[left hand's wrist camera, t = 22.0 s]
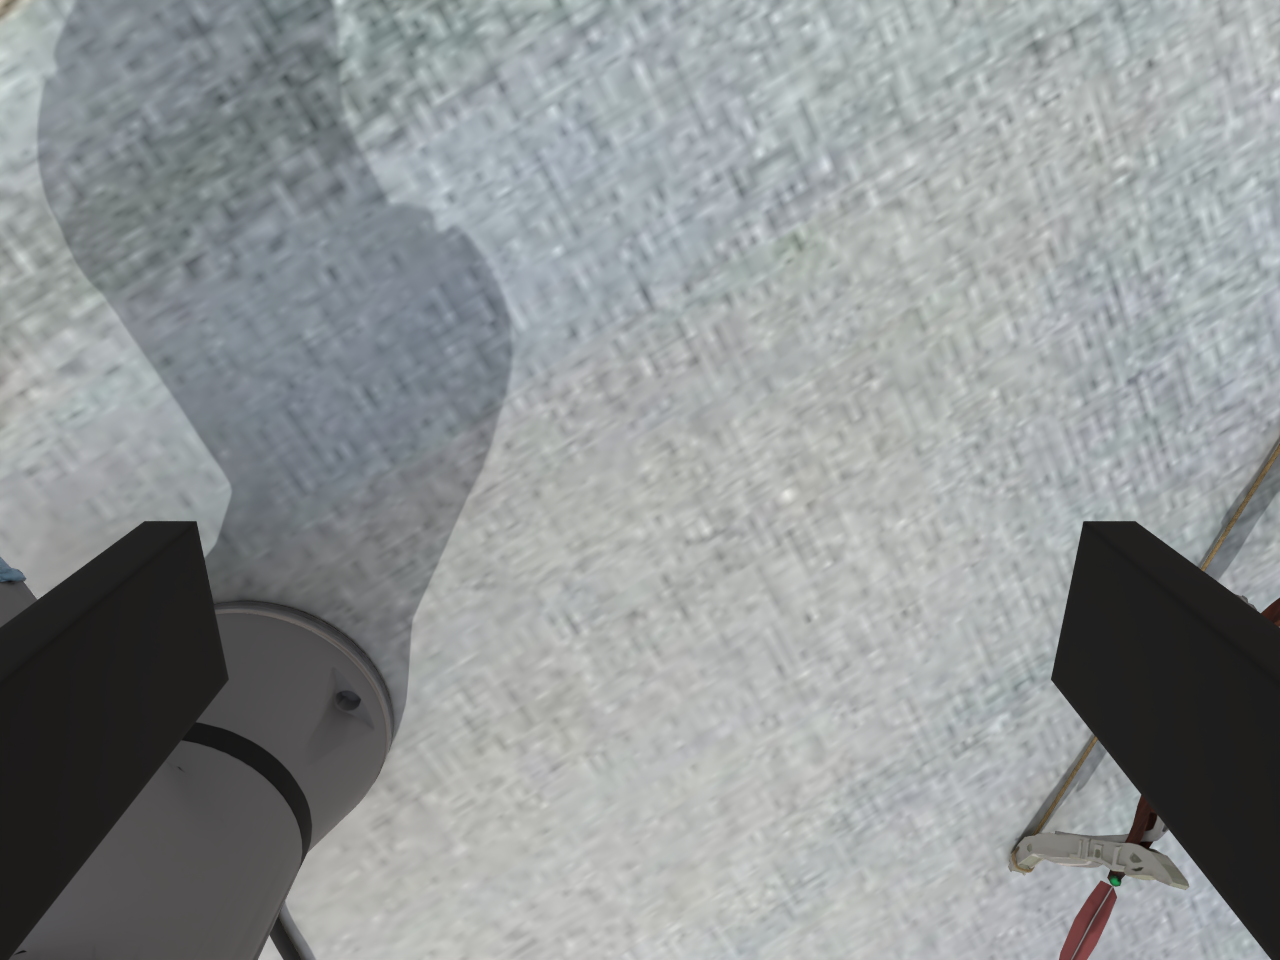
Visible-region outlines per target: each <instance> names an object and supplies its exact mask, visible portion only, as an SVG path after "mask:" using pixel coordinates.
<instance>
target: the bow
mask: <svg viewBox="0 0 1280 960" xmlns="http://www.w3.org/2000/svg"><path fill="white" fill-rule="evenodd" d="M1279 452H1280V444H1279V446H1278V447H1277V449H1276V450H1275V452H1274V454H1273V455H1272V457H1271V458H1270V460H1269V461H1268V463H1267V465H1266V466H1265V468H1264V469H1263V471H1262V473H1261V474H1260V476H1259V477H1258V479H1257V480H1256V482H1255V484H1254V485H1253V487H1252V488H1251V490H1250V492H1249V493H1248V495H1247V496H1246V498H1245V499H1244V501H1243V503H1242V504H1241V506H1240V507H1239V509H1238V511H1237V512H1236V514H1235V515H1234V517H1233V518H1232V520H1231V522H1230V523H1229V525H1228V526H1227V528H1226V530H1225V531H1224V533H1223V534H1222V536H1221V537H1220V539H1219V541H1218V542H1217V544H1216V545H1215V547H1214V549H1213V550H1212V552H1211V553H1210V555H1209V556H1208V558H1207V560H1206V561H1205V563H1204V564H1203V566H1202V568H1201V570H1202V571H1205V569H1206V568H1207V566H1208V564H1209V563H1210V561H1211V560H1212V558H1213V557H1214V555H1215V553H1216V552H1217V550H1218V549H1219V547H1220V546H1221V544H1222V542H1223V541H1224V539H1225V538H1226V536H1227V535H1228V533H1229V531H1230V530H1231V528H1232V527H1233V525H1234V523H1235V522H1236V520H1237V519H1238V517H1239V516H1240V514H1241V512H1242V511H1243V509H1244V508H1245V506H1246V505H1247V503H1248V501H1249V500H1250V498H1251V497H1252V495H1253V493H1254V492H1255V490H1256V489H1257V487H1258V486H1259V484H1260V482H1261V481H1262V479H1263V478H1264V476H1265V475H1266V473H1267V471H1268V470H1269V468H1270V467H1271V465H1272V464H1273V462H1274V460H1275V459H1276V457H1277V456H1278V454H1279ZM1235 595H1236V594H1235ZM1236 596H1238V597H1239V598H1240V599H1242V600H1243V601H1244V602H1246V603H1247V604H1248V605H1250V606H1251V607H1252V608H1254V609H1255V610H1257V609H1256V608H1255V607H1254V605H1252V604H1249V603H1248V599H1247V598H1246V597H1245V596H1243V595H1242V596H1239V595H1236ZM1261 614H1262V615H1263V616H1265V617H1266V618H1267V619H1269V620H1270V621H1271V622H1273V623H1274V624H1276V625H1277V626H1278V627H1280V598H1279V599H1277V600H1276V601H1275V602H1273V603H1272V604H1271V605H1270V606H1269V607H1267V608H1266V609H1265V610H1264V611H1263V612H1262V613H1261ZM1097 740H1098V739H1097V737H1096V736H1095V737H1094V739H1093V740H1092V742H1091V743H1090V745H1089V747H1088V748H1087V750H1086V751H1085V753H1084V755H1083V756H1082V758H1081V759H1080V761H1079V762H1078V764H1077V766H1076V767H1075V769H1074V770H1073V772H1072V774H1071V775H1070V777H1069V778H1068V780H1067V781H1066V783H1065V785H1064V786H1063V788H1062V789H1061V791H1060V793H1059V794H1058V796H1057V797H1056V799H1055V800H1054V802H1053V804H1052V805H1051V807H1050V808H1049V810H1048V812H1047V813H1046V815H1045V816H1044V818H1043V819H1042V821H1041V823H1040V824H1039V826H1038V827H1037V829H1036V831H1035V832H1034V834H1033V835H1032V836H1028V837H1024V839H1023V840H1022V841H1021V842H1020V843H1019V844H1018V845H1017V847H1016V849H1015V850H1014V851H1013V853H1012V857H1011V858H1010V860H1009V861H1010V864H1009V866H1008V867H1009V869H1010V871H1011V872H1012V871H1016V872H1020V873H1023V875H1024V876H1025V874H1026V873H1027V872H1028V873H1029V872H1031V871H1032V870H1033V869H1034V867H1035V866H1036V865H1037V864H1038V863H1040V862H1041V861H1043V860H1044V859H1046V860H1048V861H1051V862H1054V863H1057V864H1060V865H1064V866H1074V867H1090V868H1091V867H1099V866H1100V865H1102V864H1104V865H1105V866H1106V867H1108V868H1109V869H1110V872H1109V875H1108V877H1107V878H1108V879H1109V881H1110V883H1111V884H1112V886H1111V885H1109V884H1107V883H1105V882H1103V881H1100V882H1099V884H1098V885H1097V886H1096V888H1095V889H1094V890H1093V892H1092V893H1091V894H1090V896H1089V897H1088V899H1087V900H1086V902H1085V904H1084V905H1083V907H1082V908H1081V910H1080V911H1079V913H1078V915H1077V916H1076V918H1075V920H1074V922H1073V924H1072V927H1071V929H1070V931H1069V934H1068V936H1067V939H1066V941H1065V943H1064V946H1063V948H1062V950H1061V953H1060V958H1059V960H1087V959H1088V957H1089V955H1090V954H1091V952H1092V951H1093V949H1094V948H1095V946H1096V944H1097V942H1098V940H1099V938H1100V936H1101V934H1102V932H1103V929H1104V927H1105V925H1106V923H1107V921H1108V919H1109V916H1110V914H1111V911H1112V909H1113V906H1114V904H1115V901H1116V899H1117V896H1116V893H1115V891H1114V888H1113V887H1114V886H1115V887H1116V886H1120V884H1121V879H1122V878H1123V877H1124V876H1125V875H1127V876H1130V877H1134V878H1138V879H1141V880H1157V881H1160V882H1162V883H1165V884H1167V885H1169V886H1173V887H1176V888H1180V889H1183V890H1186V889H1187V888H1188V887H1189V884H1188V881H1187V880H1186V879H1185V877H1184V876H1183V875H1182V873H1181V872H1180V871H1179V869H1178V868H1177V867H1176V866H1175V865H1174V863H1173V862H1172V861H1171V860H1170V859H1169V857H1168V856H1166V855H1163V854H1162V853H1160V852H1158V851H1157V850H1155V849H1151V848H1149V847H1150V846H1151V844H1152V843H1153V841H1157V840H1158V839H1160V838H1161V837H1162V836H1163V835H1164V834H1165V833H1166V832H1167V831H1168V830H1169V829H1168V828H1167V826H1166V825H1165V824H1164V823H1163V821H1162V820H1161V819H1160V817H1159V816H1158V815H1157V814H1156V812H1155V811H1154V810H1153V809H1152V807H1151V806H1150V805H1149V803H1148V802H1147V801H1146V800H1145V798H1144V797H1143V796H1142V795H1141V798H1140V800H1139V803H1138V806H1137V810H1136V814H1135V818H1134V822H1133V826H1132V828H1131V830H1130V833H1129V834H1125V835H1108V836H1087V835H1078V834H1070V833H1064V832H1059V831H1055V834H1053V833H1040V834H1038V833H1039V831H1040V830H1041V828H1042V826H1043V825H1044V823H1045V822H1046V820H1047V818H1048V817H1049V815H1050V814H1051V812H1052V811H1053V809H1054V807H1055V806H1056V804H1057V803H1058V801H1059V800H1060V798H1061V796H1062V795H1063V793H1064V792H1065V790H1066V789H1067V787H1068V785H1069V784H1070V782H1071V781H1072V779H1073V777H1074V776H1075V774H1076V773H1077V771H1078V770H1079V768H1080V766H1081V765H1082V763H1083V762H1084V760H1085V759H1086V757H1087V755H1088V754H1089V752H1090V751H1091V749H1092V747H1093V746H1094V744H1095V743H1096V741H1097Z"/></svg>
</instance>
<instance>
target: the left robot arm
mask: <svg viewBox="0 0 1280 960" xmlns="http://www.w3.org/2000/svg"><path fill="white" fill-rule="evenodd" d="M25 580H26V578H25V576H24V575H23V573H22V572H20V571H19V570H18V569H14V568H10V567H9V565H8V564H7V563H6V562H5V561H4V560H3V559H2V558H1V557H0V960H258V958H259V956H260V954H261V952H262V949H263V947H264V945H265V943H266V941H267V939H268V936H269V935H270V937H271V939H272V940H273V942H274V944H275V946H276V948H277V949H278V951H279V953H280V954H281V956H282V958H283V959H284V960H301V958H300V956H299V955H298V953H297V951H296V949H295V948H294V946H293V944H292V942H291V941H290V939H289V937H288V936H287V934H286V932H285V930H284V928H283V926H282V924H281V922H280V920H279V918H278V915H279V913H280V910H281V908H282V906H283V904H284V902H285V899H286V897H287V895H288V893H289V891H290V889H291V886H292V884H293V882H294V880H295V878H296V876H297V873H298V871H299V869H300V867H301V865H302V863H303V861H304V859H305V856H306V854H307V853H308V852H309V851H310V850H311V849H312V848H313V847H314V846H315V845H316V844H317V843H318V842H319V841H320V840H321V839H322V838H323V837H324V836H325V835H326V834H327V833H329V832H330V831H331V830H332V829H333V828H334V827H335V826H336V825H337V824H338V823H339V822H340V821H341V820H342V819H343V818H344V817H345V816H346V815H347V814H348V813H349V812H350V811H352V810H353V809H354V808H355V807H356V806H357V805H358V803H359V802H360V801H361V800H362V799H363V798H364V796H365V795H366V794H367V792H368V791H369V789H370V788H371V786H372V785H373V783H374V782H375V780H376V778H377V777H378V775H379V773H380V771H381V768H382V766H383V764H384V761H385V759H386V757H387V754H388V752H389V749H390V745H391V742H392V735H393V712H392V707H391V702H390V698H389V695H388V692H387V689H386V687H385V685H384V683H383V680H382V679H381V677H380V675H379V673H378V672H377V670H376V668H375V667H374V666H373V664H372V663H371V661H370V660H369V659H368V658H367V657H366V655H365V654H364V653H363V652H362V651H361V650H360V649H359V648H358V647H357V646H356V645H355V644H354V643H353V642H352V641H351V640H349V639H348V638H347V637H346V636H345V635H343V634H342V633H341V632H339V631H338V630H336V629H335V628H333V627H332V626H330V625H328V624H327V623H325V622H323V621H321V620H319V619H317V618H315V617H313V616H311V615H309V614H306V613H304V612H301V611H298V610H295V609H292V608H289V607H285V606H281V605H276V604H271V603H264V602H255V601H237V602H226V603H219V604H213V599H212V595H211V590H210V585H209V580H208V575H207V570H206V565H205V561H204V556H203V551H202V546H201V541H200V536H199V531H198V527H197V522H196V521H144V522H143V523H142V524H140V525H139V526H138V527H136V528H135V529H134V530H132V531H131V532H129V533H128V534H127V535H125V536H124V537H123V538H121V539H120V540H119V541H117V542H116V543H115V544H113V545H112V546H110V547H109V548H108V549H106V550H105V551H104V552H102V553H101V554H100V555H98V556H97V557H95V558H94V559H93V560H91V561H90V562H89V563H87V564H86V565H85V566H83V567H82V568H81V569H79V570H78V571H76V572H75V573H74V574H72V575H71V576H70V577H68V578H67V579H66V580H64V581H63V582H62V583H60V584H59V585H57V586H56V587H55V588H53V589H52V590H51V591H49V592H48V593H47V594H45V595H44V596H42V597H41V598H40V599H38V600H37V599H36V597H35V596H34V595H33V594H32V592H31V591H30V590H29V588H28V587H27V586H26V585H25V583H24V582H23V581H25ZM1051 680H1052V681H1053V683H1054V684H1055V685H1056V686H1057V688H1058V689H1059V690H1060V692H1061V693H1062V694H1063V695H1064V697H1065V698H1066V699H1067V700H1068V702H1069V703H1070V704H1071V706H1072V707H1073V708H1074V709H1075V711H1076V712H1077V713H1078V714H1079V716H1080V717H1081V718H1082V720H1083V721H1084V722H1085V723H1086V725H1087V726H1088V727H1089V728H1090V730H1091V731H1092V732H1093V734H1094V735H1095V736H1096V737H1097V739H1098V740H1099V741H1100V742H1101V744H1102V745H1103V746H1104V748H1105V749H1106V750H1107V751H1108V753H1109V754H1110V755H1111V756H1112V758H1113V759H1114V760H1115V762H1116V763H1117V764H1118V765H1119V767H1120V768H1121V769H1122V770H1123V772H1124V773H1125V774H1126V775H1127V777H1128V778H1129V779H1130V781H1131V782H1132V783H1133V784H1134V786H1135V787H1136V788H1137V789H1138V791H1139V792H1140V793H1141V795H1142V796H1143V797H1144V798H1145V800H1146V801H1147V802H1148V803H1149V805H1150V806H1151V807H1152V809H1153V810H1154V811H1155V812H1156V814H1157V815H1158V816H1159V817H1160V819H1161V820H1162V821H1163V823H1164V824H1165V825H1166V826H1167V828H1168V829H1169V830H1170V831H1171V833H1172V834H1173V835H1174V837H1175V838H1176V839H1177V840H1178V842H1179V843H1180V844H1181V845H1182V847H1183V848H1184V849H1185V851H1186V852H1187V853H1188V854H1189V856H1190V857H1191V858H1192V859H1193V861H1194V862H1195V863H1196V864H1197V866H1198V867H1199V868H1200V870H1201V871H1202V872H1203V873H1204V875H1205V876H1206V877H1207V878H1208V880H1209V881H1210V882H1211V884H1212V885H1213V886H1214V887H1215V889H1216V890H1217V891H1218V892H1219V894H1220V895H1221V896H1222V898H1223V899H1224V900H1225V901H1226V903H1227V904H1228V905H1229V906H1230V908H1231V909H1232V910H1233V912H1234V913H1235V914H1236V915H1237V917H1238V918H1239V919H1240V920H1241V922H1242V923H1243V924H1244V926H1245V927H1246V928H1247V929H1248V931H1249V932H1250V933H1251V934H1252V936H1253V937H1254V938H1255V940H1256V941H1257V942H1258V943H1259V945H1260V946H1261V947H1262V948H1263V950H1264V951H1265V952H1266V954H1267V955H1268V956H1269V957H1270V959H1271V960H1280V627H1278V626H1277V625H1276V624H1274V623H1273V622H1271V621H1270V620H1269V619H1267V618H1266V617H1265V616H1263V615H1262V614H1261V613H1259V612H1258V611H1257V610H1255V609H1254V608H1252V607H1251V606H1250V605H1248V604H1247V603H1246V602H1244V601H1243V600H1242V599H1240V598H1239V597H1238V596H1236V595H1235V594H1233V593H1232V592H1231V591H1229V590H1228V589H1227V588H1225V587H1224V586H1223V585H1221V584H1220V583H1218V582H1217V581H1216V580H1214V579H1213V578H1212V577H1210V576H1209V575H1208V574H1206V573H1205V572H1204V571H1202V570H1201V569H1199V568H1198V567H1197V566H1195V565H1194V564H1193V563H1191V562H1190V561H1189V560H1187V559H1186V558H1185V557H1183V556H1182V555H1180V554H1179V553H1178V552H1176V551H1175V550H1174V549H1172V548H1171V547H1170V546H1168V545H1167V544H1165V543H1164V542H1163V541H1161V540H1160V539H1159V538H1157V537H1156V536H1155V535H1153V534H1152V533H1151V532H1149V531H1148V530H1146V529H1145V528H1144V527H1142V526H1141V525H1140V524H1138V523H1137V522H1136V521H1084V522H1083V527H1082V531H1081V536H1080V541H1079V546H1078V551H1077V556H1076V561H1075V565H1074V570H1073V575H1072V580H1071V585H1070V590H1069V595H1068V599H1067V604H1066V609H1065V614H1064V619H1063V624H1062V629H1061V633H1060V638H1059V643H1058V648H1057V653H1056V658H1055V663H1054V668H1053V672H1052V677H1051Z"/></svg>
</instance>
